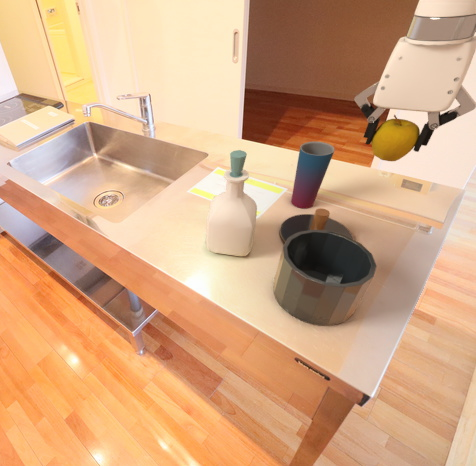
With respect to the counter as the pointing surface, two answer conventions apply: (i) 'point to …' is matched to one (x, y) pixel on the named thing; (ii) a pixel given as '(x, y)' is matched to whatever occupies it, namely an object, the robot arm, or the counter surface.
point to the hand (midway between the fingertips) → (392, 144)
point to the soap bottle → (232, 213)
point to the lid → (312, 224)
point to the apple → (395, 139)
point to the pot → (322, 276)
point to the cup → (310, 172)
